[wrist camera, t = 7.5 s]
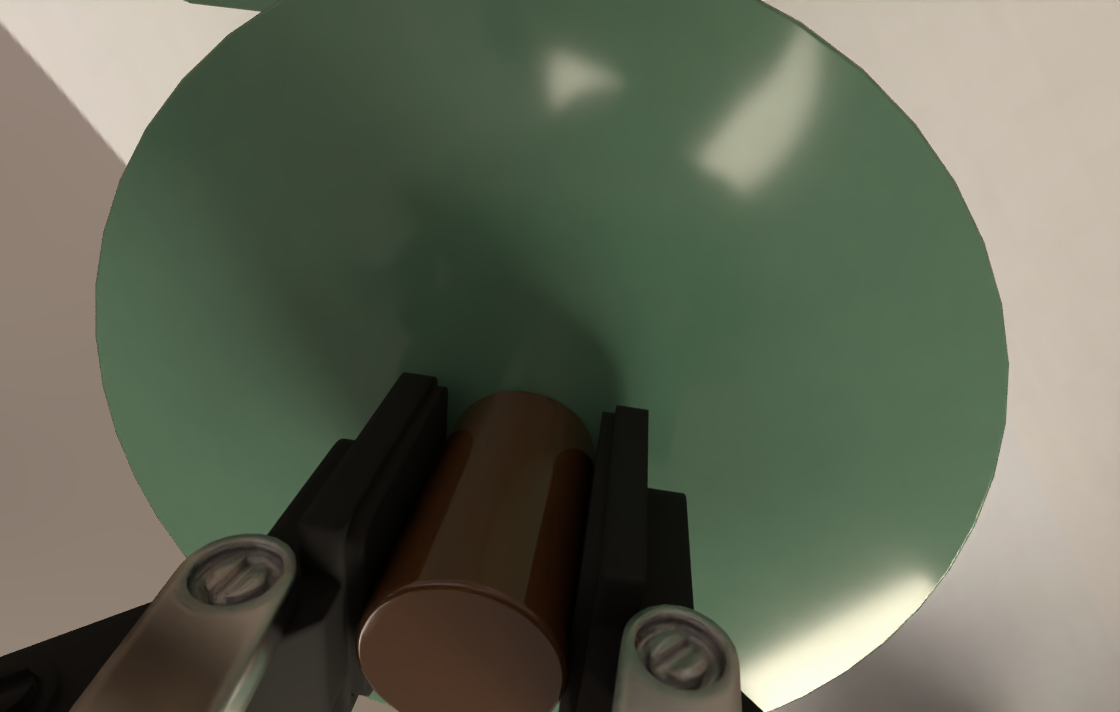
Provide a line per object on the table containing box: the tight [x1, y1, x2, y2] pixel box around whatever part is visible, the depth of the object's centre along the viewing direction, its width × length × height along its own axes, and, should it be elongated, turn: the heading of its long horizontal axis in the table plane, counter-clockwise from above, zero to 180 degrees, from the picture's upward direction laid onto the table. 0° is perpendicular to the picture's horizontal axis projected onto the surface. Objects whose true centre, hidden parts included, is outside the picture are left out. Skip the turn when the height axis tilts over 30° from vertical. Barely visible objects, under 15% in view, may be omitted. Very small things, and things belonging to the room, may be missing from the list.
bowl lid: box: [96, 0, 1009, 712], centre depth 11 cm, size 16×16×6 cm
